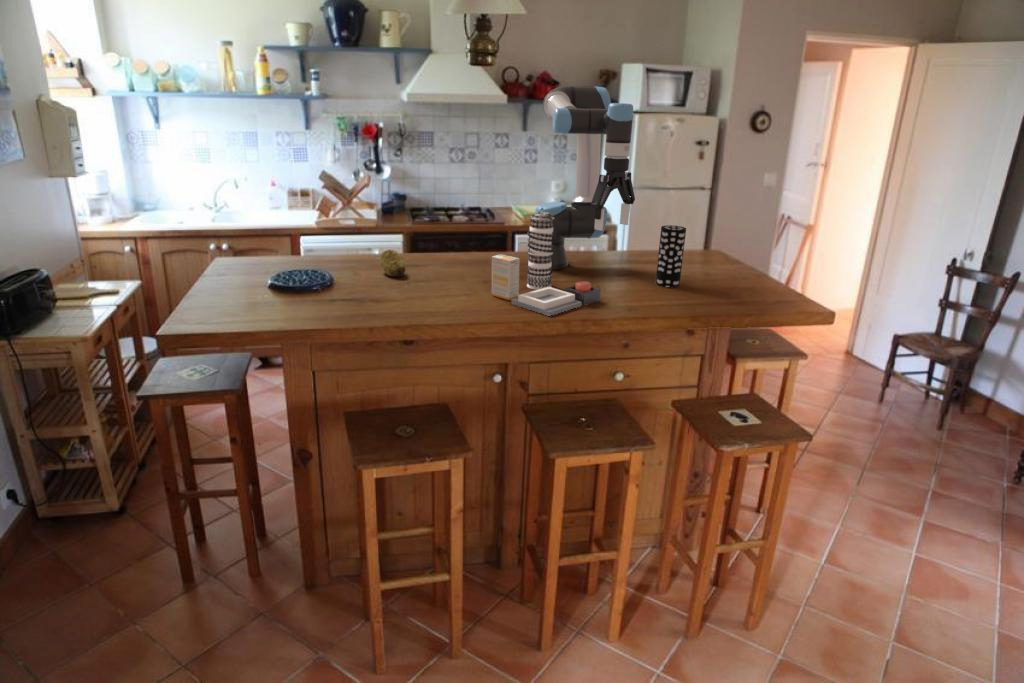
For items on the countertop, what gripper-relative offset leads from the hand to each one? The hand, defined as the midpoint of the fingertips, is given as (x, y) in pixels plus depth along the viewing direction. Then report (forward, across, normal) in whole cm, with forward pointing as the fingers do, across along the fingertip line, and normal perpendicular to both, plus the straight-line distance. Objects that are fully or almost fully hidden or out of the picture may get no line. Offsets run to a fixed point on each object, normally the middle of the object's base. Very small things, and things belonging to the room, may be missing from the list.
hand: (611, 227), depth 212 cm
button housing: (+23, -8, +3) cm, 25 cm away
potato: (+23, -34, +68) cm, 80 cm away
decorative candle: (+23, -7, +23) cm, 33 cm away
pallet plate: (+23, -21, +8) cm, 32 cm away
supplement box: (+23, -24, +23) cm, 40 cm away
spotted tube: (+23, +29, -5) cm, 38 cm away
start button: (+21, -9, +3) cm, 23 cm away
